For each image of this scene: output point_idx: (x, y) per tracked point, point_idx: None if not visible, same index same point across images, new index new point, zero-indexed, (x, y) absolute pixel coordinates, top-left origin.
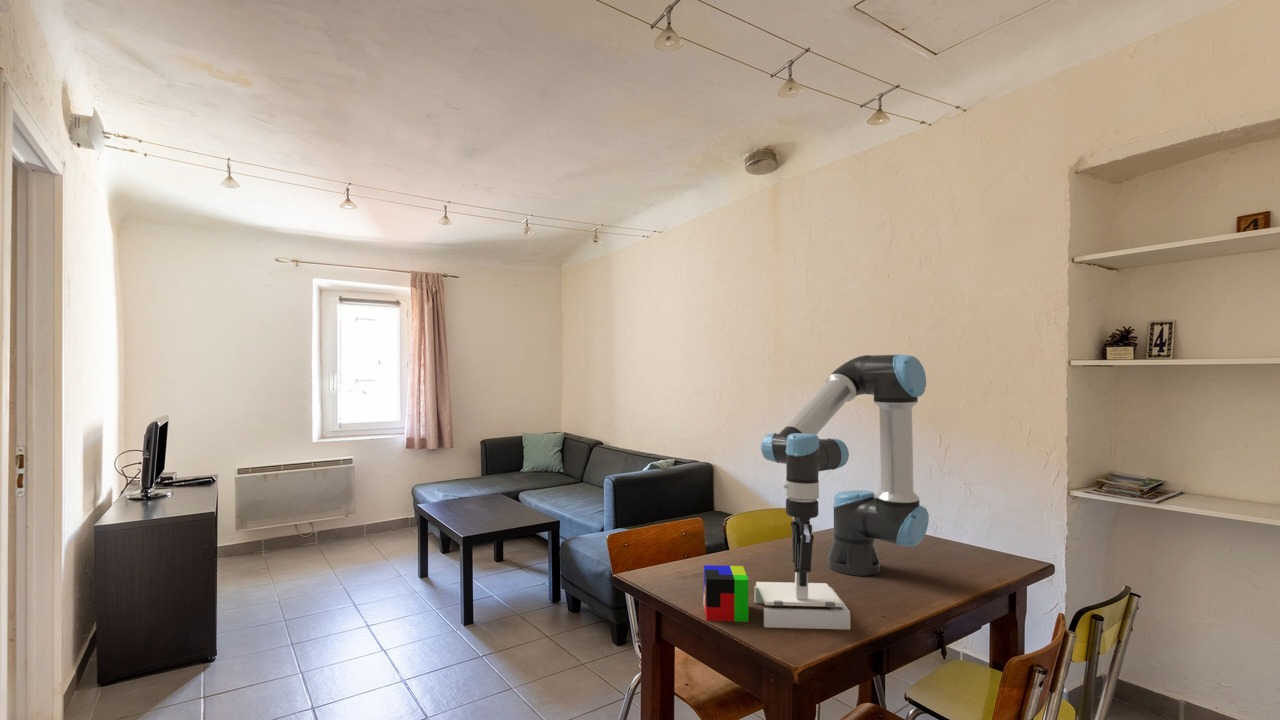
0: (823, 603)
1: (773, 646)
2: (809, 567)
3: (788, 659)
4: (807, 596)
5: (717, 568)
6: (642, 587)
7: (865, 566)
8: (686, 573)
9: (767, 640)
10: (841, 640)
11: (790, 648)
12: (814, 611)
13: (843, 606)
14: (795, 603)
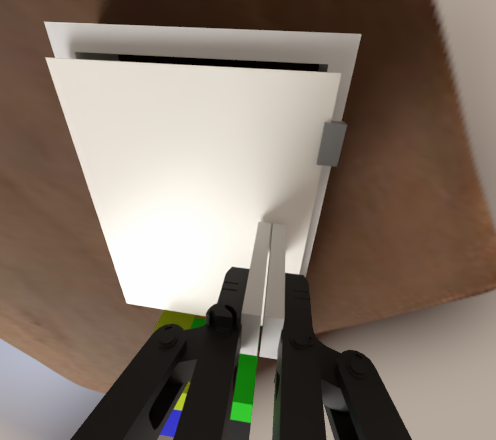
0: (320, 172)
1: (393, 291)
2: (386, 402)
3: (467, 284)
4: (285, 232)
5: (166, 423)
6: None
7: None
8: (40, 332)
9: (361, 293)
10: (420, 115)
11: (416, 265)
12: (323, 198)
13: (286, 47)
14: (300, 262)
